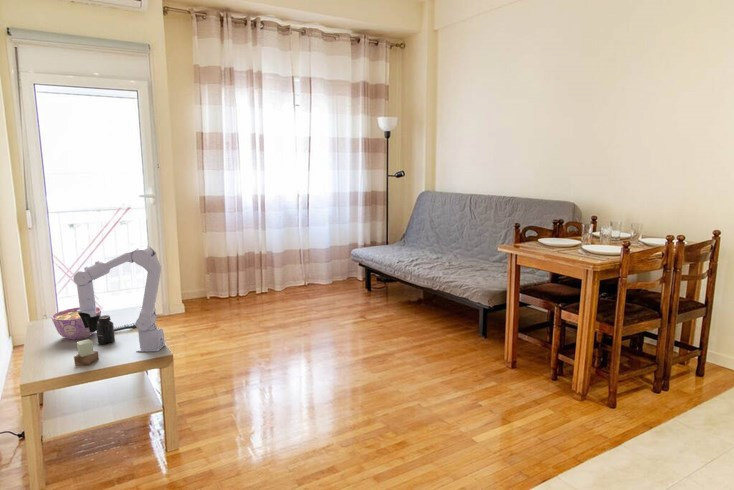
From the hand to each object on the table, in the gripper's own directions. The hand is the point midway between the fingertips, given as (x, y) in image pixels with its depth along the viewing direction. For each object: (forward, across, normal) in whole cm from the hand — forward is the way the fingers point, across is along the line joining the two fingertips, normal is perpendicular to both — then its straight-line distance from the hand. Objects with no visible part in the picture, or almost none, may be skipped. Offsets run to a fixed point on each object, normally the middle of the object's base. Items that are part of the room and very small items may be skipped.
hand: (90, 329), depth 203 cm
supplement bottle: (+11, -9, +8) cm, 16 cm away
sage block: (+7, +9, -5) cm, 12 cm away
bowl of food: (+11, -27, +1) cm, 29 cm away
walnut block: (+11, +9, -5) cm, 15 cm away
